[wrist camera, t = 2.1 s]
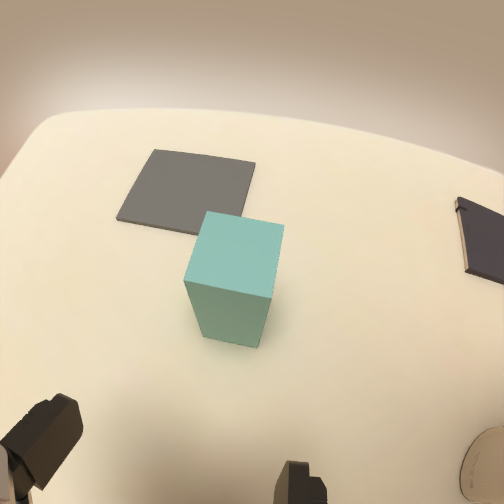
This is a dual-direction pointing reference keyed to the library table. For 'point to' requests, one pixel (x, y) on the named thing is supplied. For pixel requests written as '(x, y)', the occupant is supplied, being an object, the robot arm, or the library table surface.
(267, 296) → the teal rectangular block
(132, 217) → the charcoal mat
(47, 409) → the robot arm
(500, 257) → the notebook
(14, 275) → the library table surface
